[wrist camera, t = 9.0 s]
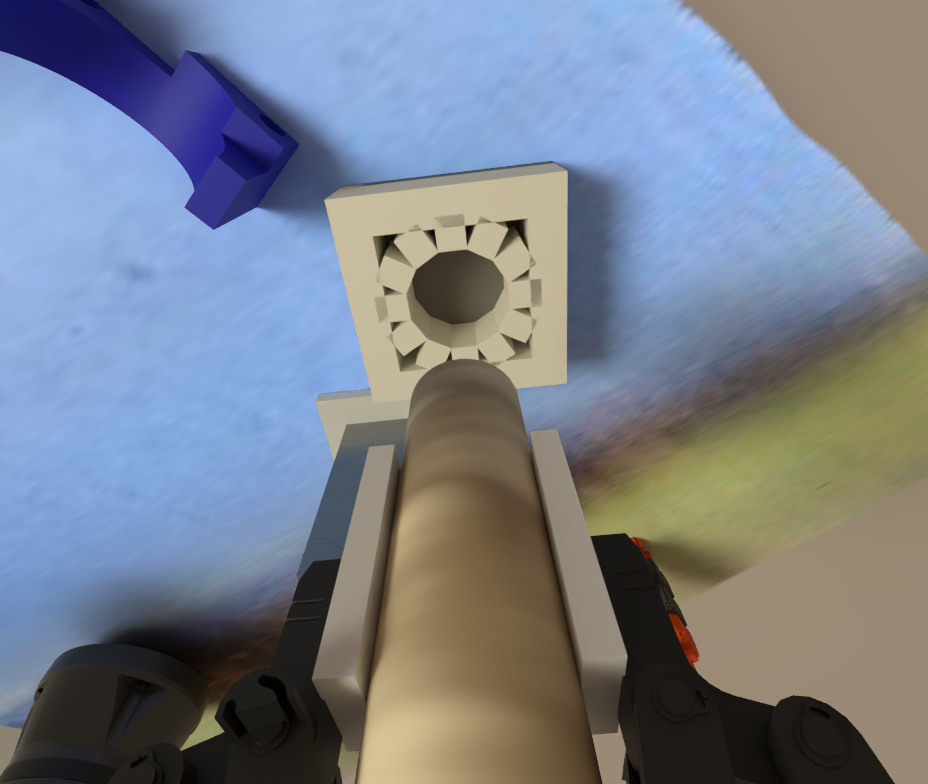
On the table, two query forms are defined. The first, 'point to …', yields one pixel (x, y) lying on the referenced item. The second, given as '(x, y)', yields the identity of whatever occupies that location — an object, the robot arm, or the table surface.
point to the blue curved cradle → (158, 100)
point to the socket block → (457, 273)
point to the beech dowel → (472, 605)
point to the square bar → (347, 487)
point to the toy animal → (671, 608)
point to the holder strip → (354, 412)
